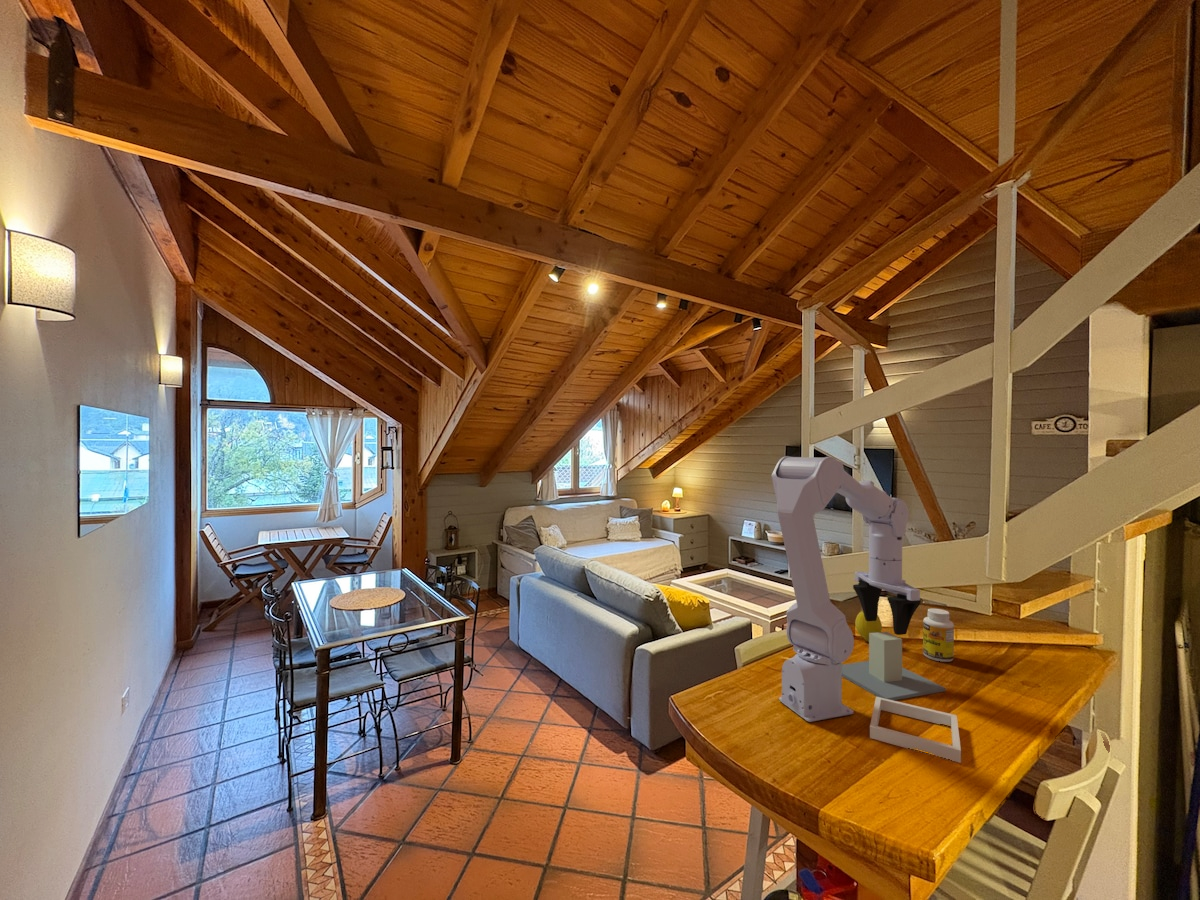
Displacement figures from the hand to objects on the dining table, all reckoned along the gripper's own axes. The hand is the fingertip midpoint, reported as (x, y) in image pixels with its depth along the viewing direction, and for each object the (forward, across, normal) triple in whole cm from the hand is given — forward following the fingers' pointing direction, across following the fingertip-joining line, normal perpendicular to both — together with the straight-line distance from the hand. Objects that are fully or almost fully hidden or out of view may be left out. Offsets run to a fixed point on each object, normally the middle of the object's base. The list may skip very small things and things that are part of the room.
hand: (885, 627), depth 99 cm
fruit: (+11, +18, -12) cm, 24 cm away
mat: (+10, 0, 0) cm, 10 cm away
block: (+10, 0, 0) cm, 10 cm away
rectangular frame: (+10, -17, +10) cm, 22 cm away
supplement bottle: (+11, +7, -20) cm, 23 cm away
